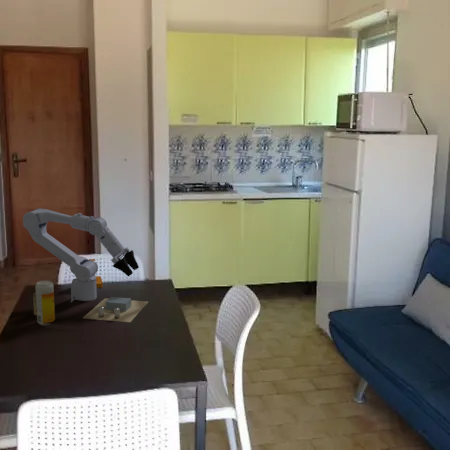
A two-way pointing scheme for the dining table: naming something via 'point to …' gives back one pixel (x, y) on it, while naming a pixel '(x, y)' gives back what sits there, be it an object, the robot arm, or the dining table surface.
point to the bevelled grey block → (118, 303)
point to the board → (124, 315)
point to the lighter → (35, 303)
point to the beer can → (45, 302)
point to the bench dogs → (116, 312)
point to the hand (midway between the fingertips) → (133, 271)
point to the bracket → (98, 279)
